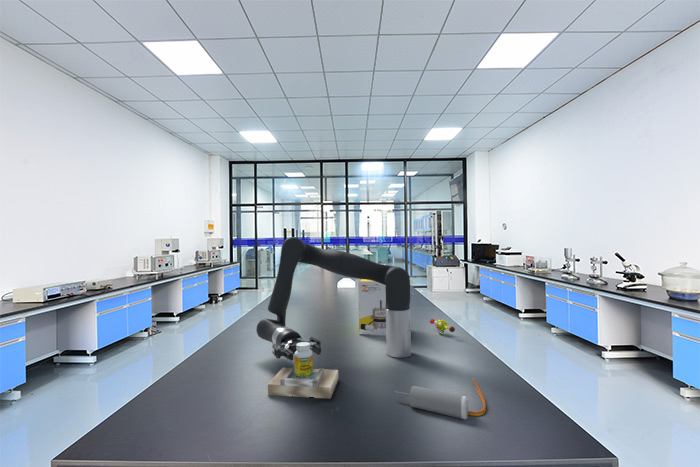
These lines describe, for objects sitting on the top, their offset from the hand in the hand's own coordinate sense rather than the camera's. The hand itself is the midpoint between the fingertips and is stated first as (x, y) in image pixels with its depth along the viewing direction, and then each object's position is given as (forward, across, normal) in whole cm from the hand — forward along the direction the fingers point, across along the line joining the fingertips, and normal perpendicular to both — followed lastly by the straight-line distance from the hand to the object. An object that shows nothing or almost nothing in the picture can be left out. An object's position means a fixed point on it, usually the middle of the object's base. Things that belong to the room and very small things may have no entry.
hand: (306, 354), depth 89 cm
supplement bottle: (-2, 0, +7) cm, 8 cm away
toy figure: (-17, +76, +11) cm, 78 cm away
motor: (+23, +31, +11) cm, 40 cm away
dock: (-3, +1, +10) cm, 11 cm away
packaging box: (-39, +55, +11) cm, 68 cm away
